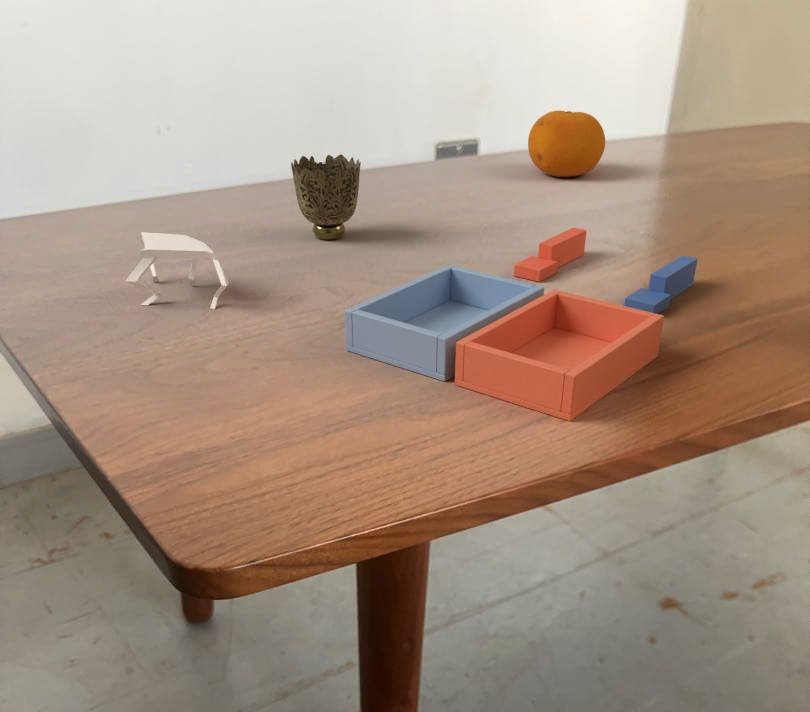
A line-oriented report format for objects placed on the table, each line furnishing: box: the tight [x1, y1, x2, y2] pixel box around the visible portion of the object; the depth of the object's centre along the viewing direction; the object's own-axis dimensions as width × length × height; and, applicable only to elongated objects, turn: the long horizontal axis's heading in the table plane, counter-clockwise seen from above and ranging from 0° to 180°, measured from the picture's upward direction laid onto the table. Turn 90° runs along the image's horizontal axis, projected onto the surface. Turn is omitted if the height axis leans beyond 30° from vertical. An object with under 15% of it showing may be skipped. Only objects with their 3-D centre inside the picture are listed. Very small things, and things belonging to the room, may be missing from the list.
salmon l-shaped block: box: [513, 227, 587, 283], centre depth 93 cm, size 10×3×3 cm, turn 142°
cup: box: [290, 154, 361, 241], centre depth 100 cm, size 8×7×8 cm
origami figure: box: [124, 231, 230, 310], centre depth 85 cm, size 12×8×5 cm
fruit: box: [527, 110, 606, 178], centre depth 125 cm, size 10×10×8 cm
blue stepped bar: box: [623, 255, 698, 314], centre depth 86 cm, size 10×3×3 cm, turn 142°
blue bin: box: [344, 264, 545, 382], centre depth 77 cm, size 10×15×4 cm
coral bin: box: [454, 289, 665, 422], centre depth 72 cm, size 10×15×4 cm
